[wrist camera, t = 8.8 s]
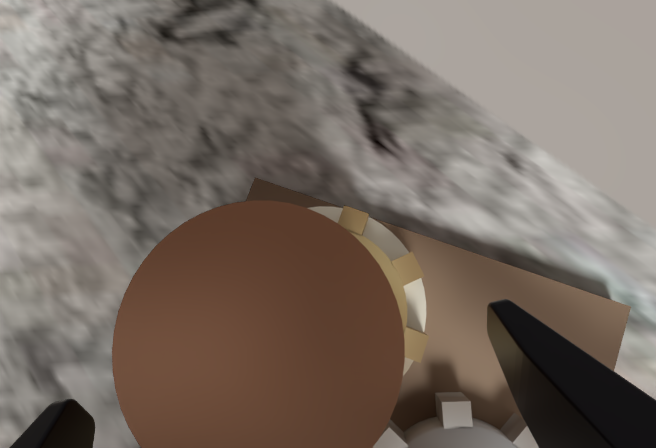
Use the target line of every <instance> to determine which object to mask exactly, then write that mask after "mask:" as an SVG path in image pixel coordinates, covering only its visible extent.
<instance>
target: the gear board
mask: <svg viewBox="0 0 656 448" xmlns="http://www.w3.org/2000/svg"><path fill="white" fill-rule="evenodd" d="M253 200H257V201H278V202H285V203H291V204H294V205H298V206H301V207H305V208H308V209H310V210H313V211H315V212H317V213H320V214H322V215H324V216H326V217H328V218H329V219H331V220H333V221H334V222H336V223H338V221H339V218H340V215H341V212H342V210H343V208H342V207H339V206H336V205H334V204H331V203H328V202H325V201H322V200H319V199H316V198H313V197H310V196H307V195H305V194H302V193H299V192H296V191H293V190H290V189H287V188H284V187H281V186H278V185H275V184H273V183H270V182H267V181H264V180H261V179H258V178H255V179H254V181H253V184H252V187H251V189H250V192H249V194H248V197H247V199H246V201H253ZM362 236H364V237H366V238H367V239H369V240H370V241H372V242H373V243H374V244H376V245H377V246H378V247H379V248H380V249H381V250H382V251H383V252H384V253H385V254H386V255H387V257H388V258H389V259H390V261H393V260H395V259H397V258H400V257H402V256H404V255H406V254H408V253H410V252H413V254H414V256H415V258H416V260H417V262H418V264H419V266H420V268H421V270H422V272H423V274H424V277H422V278H419V279H417V280H415V281H413V282H411V283H409V284H407V285H405V286H403V287H404V290H405V294H406V301H407V325H406V326H408V327H411V328H413V329H416V330H419V331H422V332H424V333H425V334H427V335H428V336H429V338H428V341H427V344H426V347H425V351H424V354H423V357H422V360H421V363H419V362H416V361H414V360H411V359H409V358H406V357H405V362H404V370H403V379H402V384H401V388H400V392H399V395H398V399H397V403H396V405H395V408H394V410H393V413H392V415H391V418H390V420H389V422H388V424H387V426H386V427H385V429H384V431H383V433H382V434H381V436H380V438H379V440H378V441H377V442H376V444H375V445H374V446H373V448H539V447H538V445H537V443H536V441H535V439H534V438H533V436H532V434H531V432H530V430H529V428H528V426H527V425H526V423H525V421H524V419H523V417H522V415H521V413H520V411H519V409H518V407H517V405H516V403H515V400H514V398H513V396H512V393H511V391H510V388H509V386H508V383H507V381H506V378H505V376H504V374H503V371H502V369H501V366H500V364H499V361H498V359H497V356H496V354H495V352H494V349H493V347H492V344H491V342H490V339H489V336H488V333H487V306H488V304H489V303H490V302H494V301H498V300H502V299H508V300H511V301H512V302H514V303H515V304H517V305H518V306H520V307H521V308H522V309H524V310H525V311H527V312H528V313H530V314H531V315H533V316H534V317H536V318H537V319H538V320H540V321H541V322H543V323H544V324H546V325H547V326H549V327H550V328H552V329H553V330H554V331H556V332H557V333H559V334H560V335H562V336H563V337H565V338H566V339H567V340H569V341H570V342H572V343H573V344H575V345H576V346H578V347H579V348H581V349H582V350H583V351H585V352H586V353H588V354H589V355H591V356H592V357H594V358H595V359H597V360H598V361H599V362H601V363H602V364H604V365H605V366H607V367H608V368H610V369H611V370H613V371H614V368H615V364H616V361H617V357H618V353H619V349H620V346H621V342H622V338H623V335H624V331H625V327H626V323H627V320H628V316H629V312H630V308H631V307H630V306H627V305H624V304H621V303H618V302H615V301H613V300H610V299H607V298H604V297H601V296H598V295H595V294H592V293H589V292H586V291H584V290H581V289H578V288H575V287H572V286H569V285H566V284H563V283H560V282H557V281H554V280H552V279H549V278H546V277H543V276H540V275H537V274H534V273H531V272H528V271H525V270H522V269H520V268H517V267H514V266H511V265H508V264H505V263H502V262H499V261H496V260H493V259H491V258H488V257H485V256H482V255H479V254H476V253H473V252H470V251H467V250H464V249H461V248H459V247H456V246H453V245H450V244H447V243H444V242H441V241H438V240H435V239H432V238H429V237H427V236H424V235H421V234H418V233H415V232H412V231H409V230H406V229H403V228H400V227H398V226H395V225H392V224H389V223H386V222H383V221H380V220H377V219H374V218H371V217H368V221H367V224H366V227H365V230H364V233H363V235H362Z"/></svg>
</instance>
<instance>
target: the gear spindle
mask: <svg viewBox="0 0 656 448" xmlns="http://www.w3.org/2000/svg"><path fill="white" fill-rule="evenodd" d="M368 217H369V214H368V213H366V212H363V211H360V210H357V209H354V208H351V207H348V206H345V205H344V207H343V210H342V212H341V215H340V218H339V221H338V223H336V222H334V221H333V220H331V219H329V218H328V217H326V216H324V215H322V214H320V213H317V212H315V211H313V210H310V209H308V208H305V207H301V206H298V205H294V204H291V203H285V202H278V201H257V200H253V201H245V202H236V203H232V204H228V205H224V206H220V207H217V208H214V209H212V210H209V211H206V212H204V213H201V214H199V215H197V216H196V217H194V218H192V219H190V220H188V221H187V222H185V223H183V224H182V225H181V226H179V227H178V228H176V229H175V230H174V231H172V232H171V233H169V234H168V235H167V236H166V237H165V238H164V239H163V240H162V241H161V242H160V243H159V244H158V245H157V246H156V247H155V248H154V249H153V250H152V251H151V252H150V254H149V255H148V256H147V257H146V258H145V260H144V261H143V262H142V264H141V265H140V267H139V268H138V270H137V272H136V273H135V275H134V276H133V278H132V280H131V282H130V284H129V286H128V288H127V290H126V292H125V294H124V297H123V300H122V303H121V306H120V309H119V311H118V316H117V320H116V325H115V329H114V337H113V347H112V363H113V376H114V382H115V389H116V393H117V396H118V400H119V404H120V407H121V410H122V412H123V415H124V417H125V420H126V422H127V424H128V427H129V428H130V430H131V432H132V434H133V435H134V437H135V439H136V440H137V442H138V444H139V445H140V446H141V448H373V446H374V445H375V444H376V442H377V441H378V440H379V438H380V436H381V434H382V433H383V431H384V429H385V427H386V426H387V424H388V422H389V420H390V418H391V415H392V413H393V410H394V408H395V405H396V403H397V399H398V395H399V392H400V388H401V384H402V379H403V370H404V362H405V357H406V358H409V359H411V360H414V361H416V362H419V363H421V360H422V357H423V354H424V351H425V347H426V344H427V341H428V338H429V336H428V335H427V334H425V333H424V332H422V331H419V330H416V329H413V328H411V327H408V326H406V325H407V301H406V294H405V290H404V287H403V286H405V285H407V284H409V283H411V282H413V281H415V280H417V279H419V278H422V277H424V274H423V272H422V270H421V268H420V266H419V264H418V262H417V260H416V258H415V256H414V254H413V252H410V253H408V254H406V255H404V256H402V257H400V258H397V259H395V260H393V261H390V259H389V258H388V257H387V255H386V254H385V253H384V252H383V251H382V250H381V249H380V248H379V247H378V246H377V245H376V244H374V243H373V242H372V241H370V240H369V239H367V238H366V237H364V236H362V235H363V233H364V230H365V227H366V224H367V221H368Z"/></svg>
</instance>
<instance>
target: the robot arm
mask: <svg viewBox="0 0 656 448" xmlns="http://www.w3.org/2000/svg"><path fill="white" fill-rule="evenodd" d="M487 333H488V336H489V339H490V342H491V344H492V347H493V349H494V352H495V354H496V356H497V359H498V361H499V364H500V366H501V369H502V371H503V374H504V376H505V378H506V381H507V383H508V386H509V388H510V391H511V393H512V396H513V398H514V400H515V403H516V405H517V407H518V409H519V411H520V413H521V415H522V417H523V419H524V421H525V423H526V425H527V426H528V428H529V430H530V432H531V434H532V436H533V438H534V439H535V441H536V443H537V445H538V447H539V448H656V400H655V399H653V398H652V397H650V396H649V395H647V394H646V393H645V392H643V391H642V390H640V389H639V388H637V387H636V386H634V385H633V384H631V383H630V382H629V381H627V380H626V379H624V378H623V377H621V376H620V375H618V374H617V373H615V372H614V371H613V370H611V369H610V368H608V367H607V366H605V365H604V364H602V363H601V362H599V361H598V360H597V359H595V358H594V357H592V356H591V355H589V354H588V353H586V352H585V351H583V350H582V349H581V348H579V347H578V346H576V345H575V344H573V343H572V342H570V341H569V340H567V339H566V338H565V337H563V336H562V335H560V334H559V333H557V332H556V331H554V330H553V329H552V328H550V327H549V326H547V325H546V324H544V323H543V322H541V321H540V320H538V319H537V318H536V317H534V316H533V315H531V314H530V313H528V312H527V311H525V310H524V309H522V308H521V307H520V306H518V305H517V304H515V303H514V302H512V301H511V300H508V299H502V300H498V301H494V302H490V303H489V304H488V306H487ZM94 433H95V422H94V419H93V417H92V416H91V415H90V414H89V413H88V412H87V411H86V410H85V409H84V408H83V407H82V406H81V405H80V404H79V403H78V402H77V401H75V400H74V399H66V400H62V401H57V402H54V403H52V404H50V405H49V406H48V407H47V408H46V409H45V410H44V411H43V412H42V413H41V415H40V416H39V417H38V418H37V419H36V420H35V421H34V422H33V423H32V424H31V425H30V426H29V427H28V428H27V430H26V431H25V432H24V433H23V434H22V435H21V436H20V437H19V438H18V439H17V440H16V441H15V442H14V444H13V445H12V446H11V447H10V448H93V441H94Z"/></svg>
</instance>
